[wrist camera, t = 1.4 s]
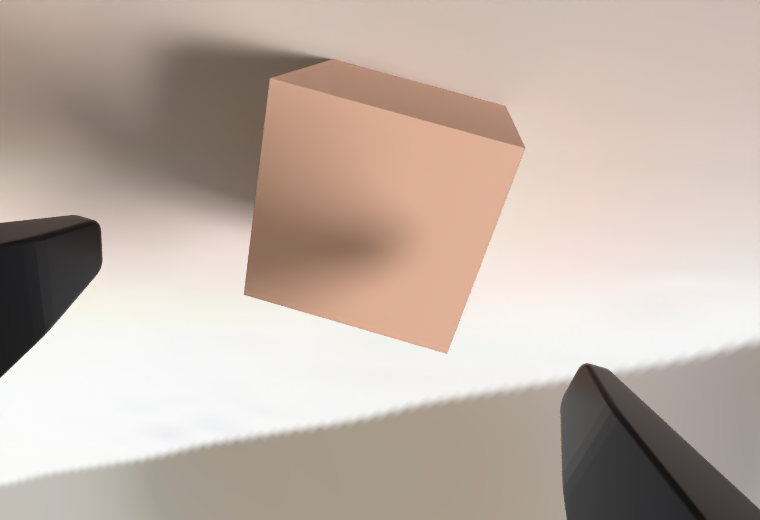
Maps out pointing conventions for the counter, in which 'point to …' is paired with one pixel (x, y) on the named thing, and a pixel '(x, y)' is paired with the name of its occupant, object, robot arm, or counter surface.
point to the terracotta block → (377, 199)
